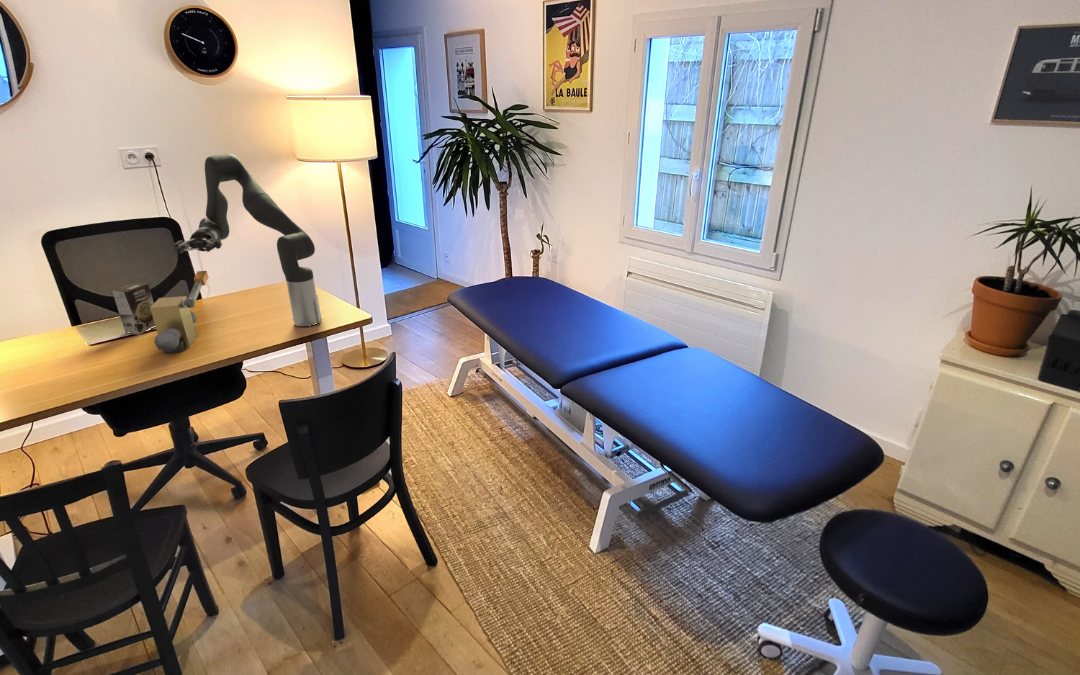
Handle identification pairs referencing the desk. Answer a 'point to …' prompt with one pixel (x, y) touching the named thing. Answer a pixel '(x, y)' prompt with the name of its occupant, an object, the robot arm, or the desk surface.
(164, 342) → the block
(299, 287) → the robot arm
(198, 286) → the lever
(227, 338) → the desk surface
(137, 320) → the coffee box
